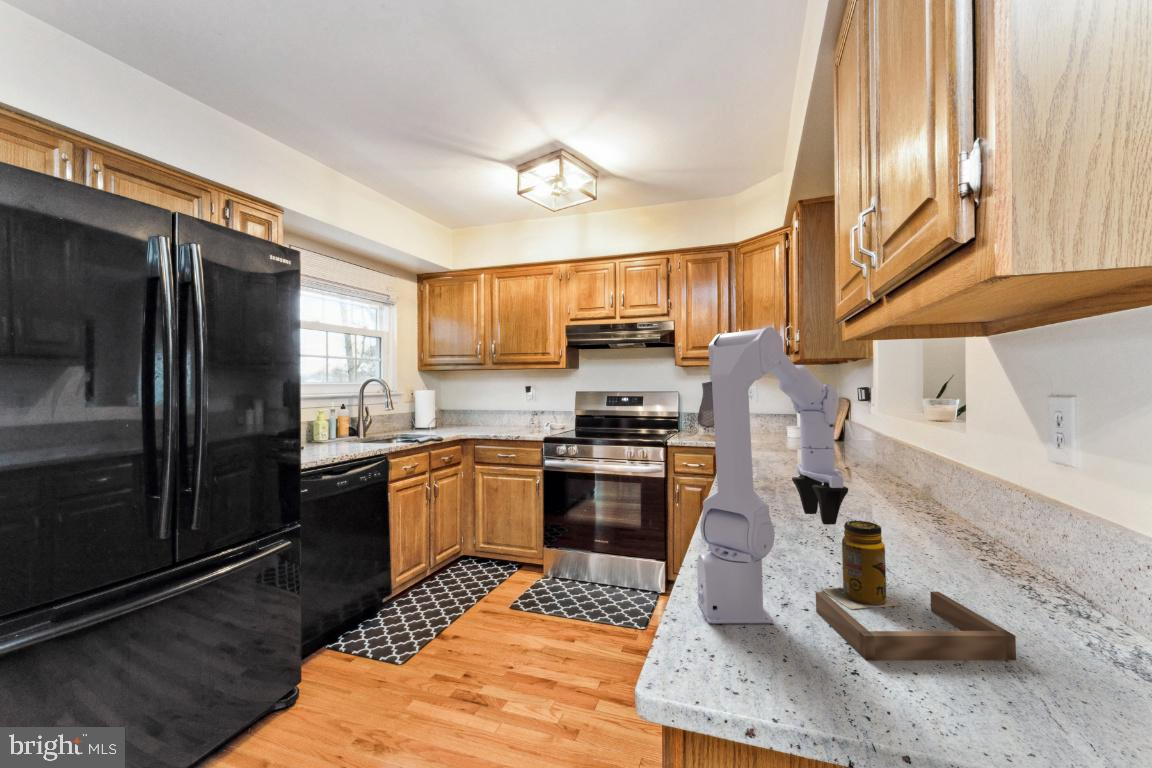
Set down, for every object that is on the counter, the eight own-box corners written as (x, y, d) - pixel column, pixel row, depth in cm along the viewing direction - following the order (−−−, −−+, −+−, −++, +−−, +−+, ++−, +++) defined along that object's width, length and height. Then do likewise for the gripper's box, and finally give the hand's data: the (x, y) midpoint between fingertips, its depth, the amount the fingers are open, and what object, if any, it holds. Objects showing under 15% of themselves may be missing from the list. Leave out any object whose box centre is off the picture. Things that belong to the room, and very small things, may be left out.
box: (865, 660, 60) (864, 635, 60) (816, 611, 73) (815, 592, 73) (1016, 659, 59) (1015, 635, 59) (939, 611, 72) (938, 591, 73)
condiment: (900, 605, 75) (897, 528, 75) (851, 610, 74) (848, 532, 74) (866, 587, 82) (863, 517, 82) (820, 591, 81) (818, 519, 81)
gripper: (859, 451, 84) (862, 529, 84) (820, 442, 98) (822, 509, 98) (819, 452, 84) (821, 529, 84) (785, 443, 99) (787, 509, 98)
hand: (819, 518), depth 91 cm, fingers open, 7 cm apart
